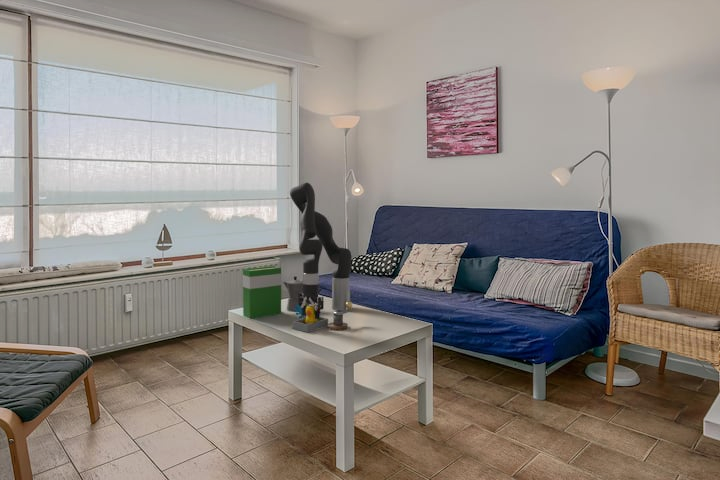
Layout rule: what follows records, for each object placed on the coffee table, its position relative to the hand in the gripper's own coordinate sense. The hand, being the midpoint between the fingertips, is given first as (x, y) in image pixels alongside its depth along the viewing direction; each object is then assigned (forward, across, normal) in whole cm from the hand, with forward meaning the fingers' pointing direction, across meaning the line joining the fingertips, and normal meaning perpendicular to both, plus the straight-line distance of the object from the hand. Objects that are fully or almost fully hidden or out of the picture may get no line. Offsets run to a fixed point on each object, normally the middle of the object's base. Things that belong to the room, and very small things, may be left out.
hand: (310, 316), depth 224 cm
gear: (+5, -14, +11) cm, 18 cm away
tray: (+5, 0, 0) cm, 5 cm away
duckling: (+4, 0, 0) cm, 4 cm away
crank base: (+5, +10, +8) cm, 14 cm away
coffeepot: (+5, -29, +20) cm, 36 cm away
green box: (+5, -35, +1) cm, 35 cm away
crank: (-1, +10, +12) cm, 15 cm away
